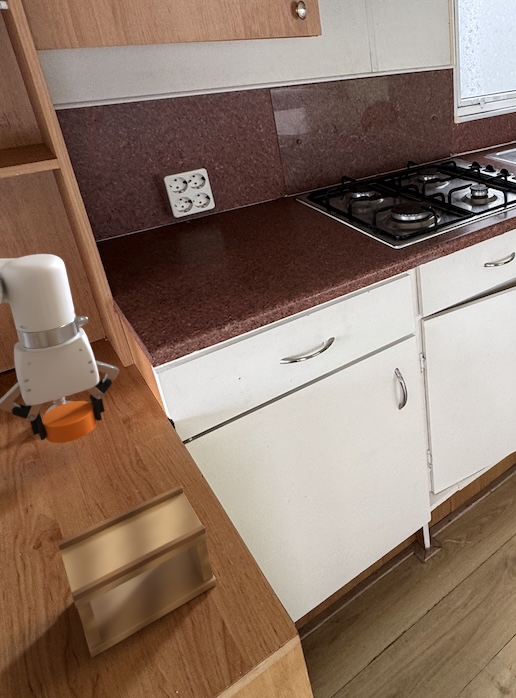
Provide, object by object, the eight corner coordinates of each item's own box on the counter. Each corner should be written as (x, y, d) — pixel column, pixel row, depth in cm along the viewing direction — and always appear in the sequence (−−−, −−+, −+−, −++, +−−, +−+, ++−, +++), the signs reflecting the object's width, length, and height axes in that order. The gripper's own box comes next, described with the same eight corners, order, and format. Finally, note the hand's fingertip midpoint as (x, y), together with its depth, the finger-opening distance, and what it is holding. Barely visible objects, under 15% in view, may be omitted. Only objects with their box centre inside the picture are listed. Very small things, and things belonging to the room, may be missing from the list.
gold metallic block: (91, 658, 67) (72, 597, 64) (75, 599, 74) (57, 541, 71) (216, 584, 77) (205, 527, 73) (192, 538, 83) (180, 484, 80)
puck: (39, 446, 93) (34, 430, 92) (53, 420, 99) (49, 405, 98) (90, 438, 95) (86, 422, 94) (101, 413, 102) (98, 397, 101)
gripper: (107, 308, 100) (124, 396, 105) (-26, 339, 88) (1, 436, 94) (118, 324, 95) (135, 415, 100) (-22, 359, 83) (6, 461, 89)
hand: (70, 425), depth 97 cm, fingers closed on puck, 7 cm apart
